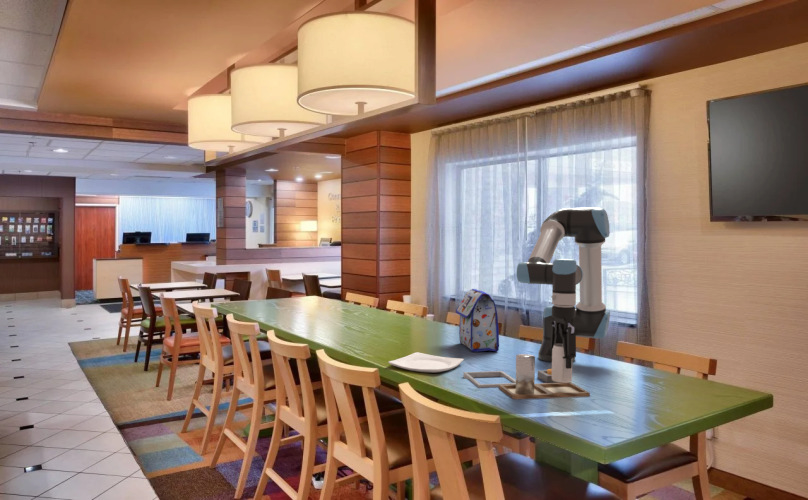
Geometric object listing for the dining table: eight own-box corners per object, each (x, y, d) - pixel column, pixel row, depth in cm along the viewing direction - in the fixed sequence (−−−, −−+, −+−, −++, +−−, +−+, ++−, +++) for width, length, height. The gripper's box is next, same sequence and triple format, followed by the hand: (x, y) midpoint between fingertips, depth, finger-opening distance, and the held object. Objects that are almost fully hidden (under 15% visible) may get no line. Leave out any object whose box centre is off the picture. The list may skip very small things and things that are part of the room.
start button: (555, 379, 203) (555, 368, 203) (560, 382, 199) (560, 371, 199) (545, 380, 203) (545, 368, 203) (549, 382, 199) (550, 371, 199)
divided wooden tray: (570, 388, 194) (570, 382, 194) (589, 398, 182) (589, 392, 181) (498, 390, 189) (499, 385, 189) (513, 402, 177) (513, 395, 177)
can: (572, 384, 183) (573, 347, 183) (552, 382, 184) (552, 346, 184) (570, 379, 189) (571, 343, 189) (551, 378, 190) (551, 342, 190)
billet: (529, 389, 188) (530, 353, 187) (537, 394, 182) (538, 357, 182) (512, 390, 187) (513, 354, 186) (519, 395, 181) (520, 358, 180)
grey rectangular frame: (502, 375, 210) (502, 370, 210) (520, 388, 192) (521, 383, 192) (463, 377, 207) (463, 372, 207) (478, 390, 190) (479, 385, 190)
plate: (439, 377, 207) (439, 370, 207) (383, 368, 220) (383, 361, 220) (467, 365, 228) (467, 358, 228) (415, 357, 241) (415, 351, 241)
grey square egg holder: (558, 379, 206) (558, 369, 206) (568, 385, 198) (568, 375, 198) (537, 380, 204) (537, 370, 204) (547, 386, 196) (547, 376, 196)
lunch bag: (453, 343, 272) (454, 288, 272) (486, 342, 275) (487, 288, 274) (466, 353, 250) (467, 292, 249) (501, 352, 253) (503, 292, 252)
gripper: (540, 302, 195) (539, 368, 195) (566, 309, 176) (565, 383, 176) (560, 302, 196) (559, 368, 197) (588, 309, 177) (587, 382, 178)
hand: (562, 375), depth 186 cm, fingers closed on can, 6 cm apart
